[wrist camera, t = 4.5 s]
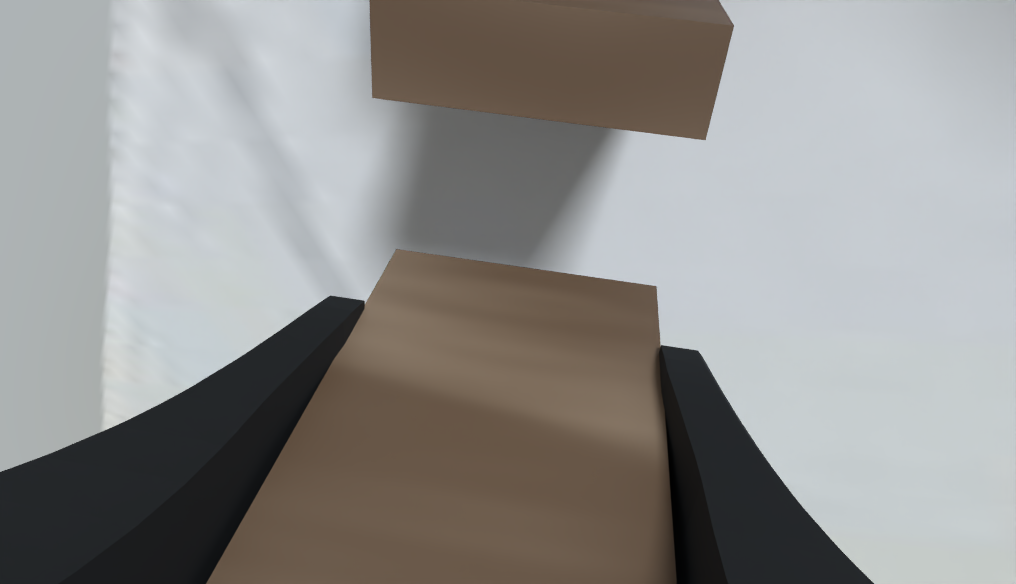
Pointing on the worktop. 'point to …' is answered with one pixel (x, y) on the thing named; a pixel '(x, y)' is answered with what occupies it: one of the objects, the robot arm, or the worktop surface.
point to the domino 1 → (556, 59)
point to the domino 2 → (475, 440)
